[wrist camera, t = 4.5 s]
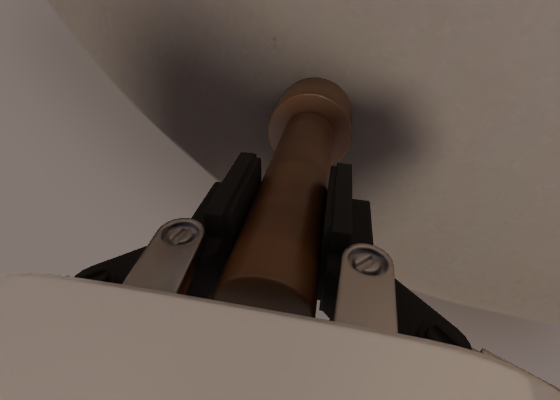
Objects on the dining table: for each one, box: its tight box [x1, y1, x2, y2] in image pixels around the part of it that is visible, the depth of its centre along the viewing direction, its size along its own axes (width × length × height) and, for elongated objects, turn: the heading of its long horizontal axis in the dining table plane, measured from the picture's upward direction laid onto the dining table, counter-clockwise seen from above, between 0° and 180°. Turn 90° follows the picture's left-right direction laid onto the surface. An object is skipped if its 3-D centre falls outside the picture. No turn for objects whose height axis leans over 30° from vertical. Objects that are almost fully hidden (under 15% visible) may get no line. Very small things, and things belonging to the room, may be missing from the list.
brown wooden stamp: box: [213, 78, 352, 318], centre depth 14 cm, size 4×4×14 cm
